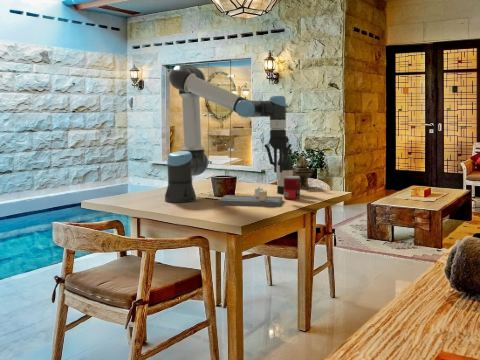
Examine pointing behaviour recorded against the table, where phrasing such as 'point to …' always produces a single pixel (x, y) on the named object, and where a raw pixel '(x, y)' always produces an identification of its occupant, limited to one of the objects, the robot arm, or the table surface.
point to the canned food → (291, 187)
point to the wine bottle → (284, 170)
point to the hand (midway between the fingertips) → (278, 179)
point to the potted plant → (302, 172)
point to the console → (249, 200)
